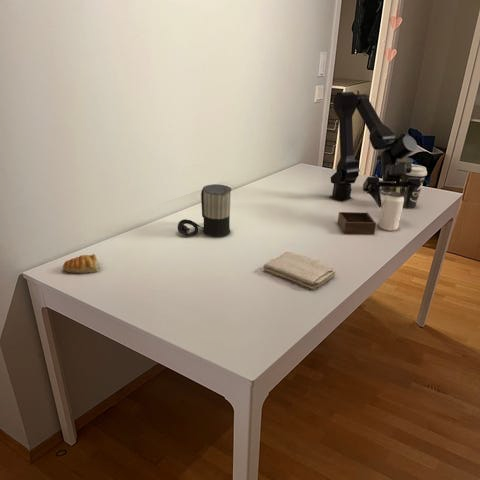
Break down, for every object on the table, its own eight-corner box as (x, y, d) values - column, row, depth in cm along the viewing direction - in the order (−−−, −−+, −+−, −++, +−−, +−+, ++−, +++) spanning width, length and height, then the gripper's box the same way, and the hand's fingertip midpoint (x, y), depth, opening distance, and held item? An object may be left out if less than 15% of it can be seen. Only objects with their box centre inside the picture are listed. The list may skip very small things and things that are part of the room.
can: (387, 232, 163) (394, 198, 157) (374, 225, 168) (381, 192, 161) (401, 229, 166) (409, 195, 159) (388, 223, 170) (395, 190, 164)
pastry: (64, 276, 128) (61, 263, 126) (63, 265, 133) (61, 253, 131) (99, 272, 131) (98, 259, 129) (97, 262, 136) (96, 249, 134)
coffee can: (382, 195, 198) (389, 160, 191) (379, 187, 207) (386, 154, 199) (407, 196, 197) (415, 162, 190) (403, 189, 206) (411, 156, 198)
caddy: (337, 222, 169) (338, 212, 167) (365, 223, 170) (367, 212, 168) (343, 233, 160) (345, 222, 158) (374, 234, 161) (376, 223, 159)
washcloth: (315, 291, 125) (316, 281, 124) (261, 271, 135) (261, 261, 133) (337, 276, 133) (338, 266, 132) (284, 258, 142) (285, 248, 141)
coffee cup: (416, 202, 192) (425, 164, 183) (421, 210, 183) (431, 171, 175) (392, 201, 192) (400, 163, 184) (396, 208, 184) (404, 169, 176)
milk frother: (236, 232, 158) (237, 188, 150) (201, 245, 148) (201, 199, 140) (206, 221, 166) (206, 179, 158) (172, 233, 156) (170, 188, 148)
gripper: (371, 152, 157) (374, 195, 154) (426, 153, 158) (430, 196, 155) (361, 169, 168) (363, 210, 164) (412, 171, 169) (416, 211, 165)
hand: (393, 207), depth 162 cm, fingers open, 9 cm apart
